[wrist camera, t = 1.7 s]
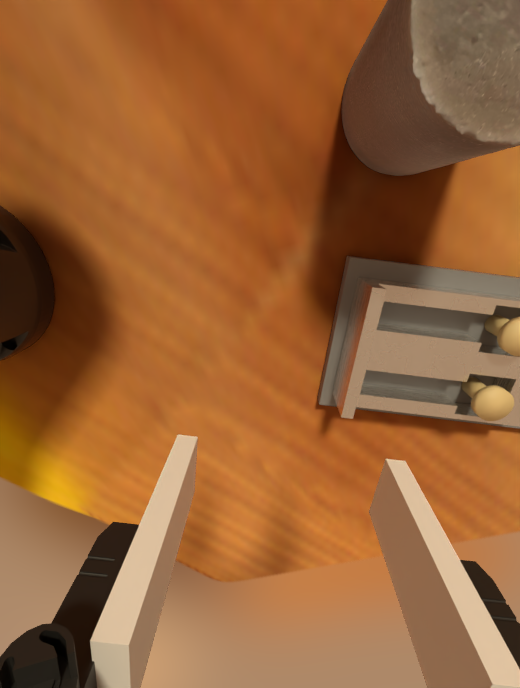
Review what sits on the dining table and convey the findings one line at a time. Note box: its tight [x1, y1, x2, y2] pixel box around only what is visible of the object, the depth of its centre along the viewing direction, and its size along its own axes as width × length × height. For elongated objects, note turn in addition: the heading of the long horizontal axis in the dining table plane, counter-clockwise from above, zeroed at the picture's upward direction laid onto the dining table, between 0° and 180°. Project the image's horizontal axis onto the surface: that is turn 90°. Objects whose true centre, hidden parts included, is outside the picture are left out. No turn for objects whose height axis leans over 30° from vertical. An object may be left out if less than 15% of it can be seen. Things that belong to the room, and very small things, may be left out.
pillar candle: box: [342, 0, 520, 176], centre depth 17 cm, size 10×10×15 cm
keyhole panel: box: [332, 277, 520, 427], centre depth 28 cm, size 17×11×4 cm, turn 83°
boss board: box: [317, 256, 520, 428], centre depth 29 cm, size 28×14×5 cm, turn 83°
